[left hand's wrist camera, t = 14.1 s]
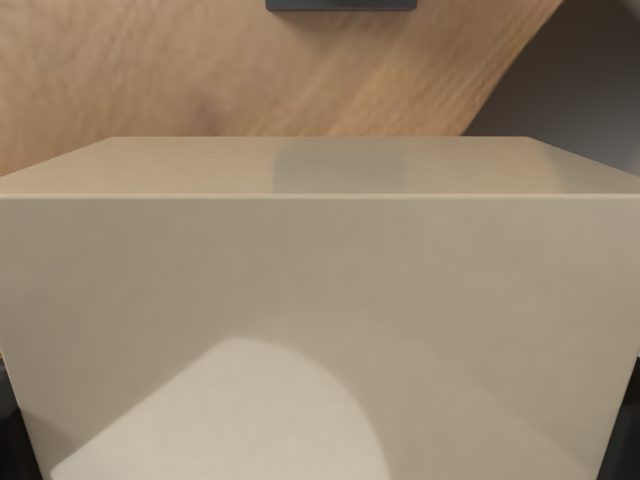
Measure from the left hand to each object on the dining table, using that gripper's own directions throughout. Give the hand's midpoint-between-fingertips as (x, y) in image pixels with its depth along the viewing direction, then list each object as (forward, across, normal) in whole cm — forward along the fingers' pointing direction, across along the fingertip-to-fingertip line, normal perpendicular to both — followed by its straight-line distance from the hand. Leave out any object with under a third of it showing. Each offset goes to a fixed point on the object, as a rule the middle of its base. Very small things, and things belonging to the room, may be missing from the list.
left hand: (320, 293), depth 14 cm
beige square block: (-1, 0, 0) cm, 1 cm away
